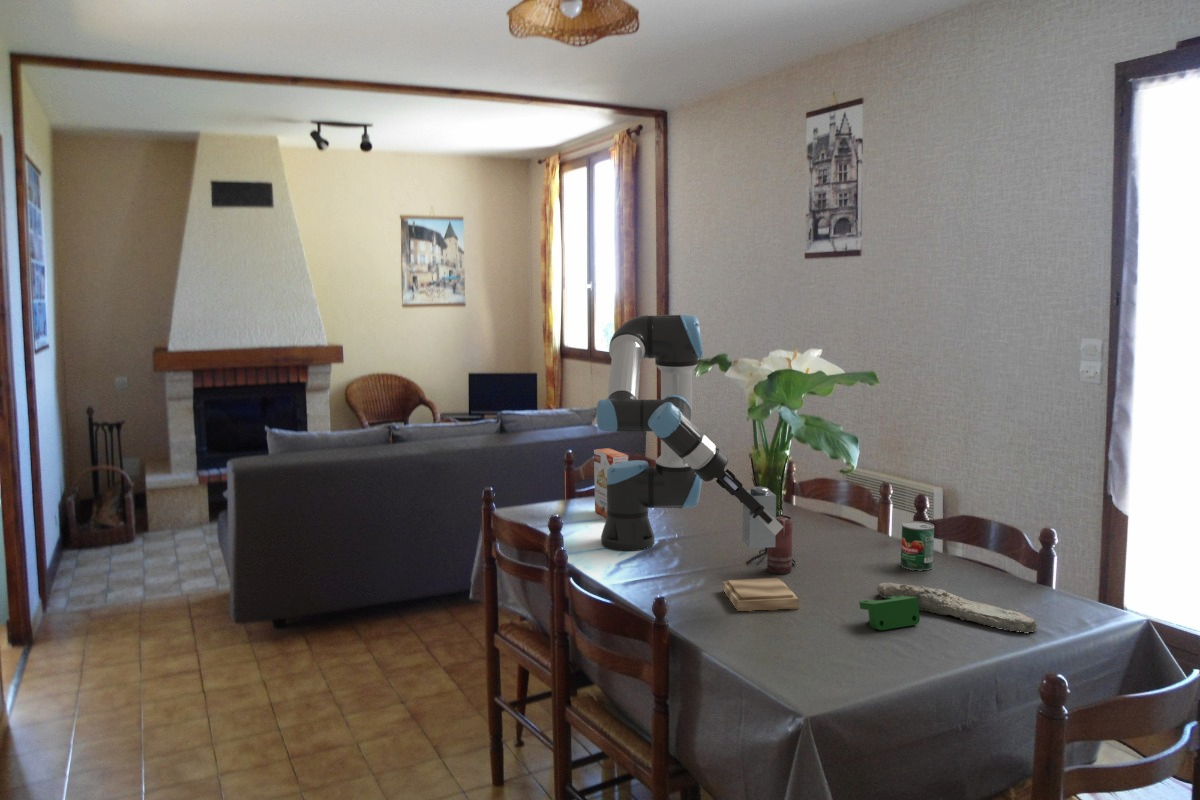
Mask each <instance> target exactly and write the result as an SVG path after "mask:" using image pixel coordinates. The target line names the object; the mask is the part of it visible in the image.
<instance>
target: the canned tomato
mask: <svg viewBox="0 0 1200 800" xmlns="http://www.w3.org/2000/svg"><path fill="white" fill-rule="evenodd" d="M934 537H935V525H934V524H933V523H931V522H928V521H927V522H926V521H919V520H908V521H903V522H902V523H901V538H900V541H901V543H900V545H901V546H900V567H901V566H902V567H901V568H903V567H904V568H903V569H905V568H906V570H908V569H909V570H910V571H914V570H918V571H917V572H923V571H922V570H927V571H931V570H932V569H933V568H934V567H933V566H934V565H933V562H934V540H935V539H934ZM930 569H931V570H930Z"/></svg>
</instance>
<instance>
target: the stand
mask: <svg viewBox="0 0 1200 800" xmlns="http://www.w3.org/2000/svg"><path fill="white" fill-rule="evenodd" d="M723 590H724V592H725V593H726V595H727V596H728V598H729V599H730V600H731V602H732V603H733V605H734V606H735V607H734V606H733V605H732V606H733V607H734V609H735V608H736V609H737V610H736V609H735V610H736V612H737V611H749V612H755V611H754V610H769V611H779V610H778V609H790V610H799V609H800V608H799V607H800V598H799V597H798V596H797V595H796V594H795V593H794V592H793V591H792V589H790V587H788V585H786V583H785V582H784V581H783V580H782V579H780V578H778V577H769V578H768V577H767V578H746V579H745V578H744V579H728V580H725V581H722V591H723ZM724 592H723V593H724ZM726 595H725V596H726ZM727 596H726V597H727ZM728 598H727V599H728ZM729 599H728V600H729ZM730 600H729V601H730ZM731 602H730V603H731ZM732 603H731V604H732ZM752 610H753V611H752Z"/></svg>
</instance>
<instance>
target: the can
mask: <svg viewBox="0 0 1200 800" xmlns="http://www.w3.org/2000/svg"><path fill="white" fill-rule="evenodd" d="M776 520H777V521H778V522H779V523H780V524H781V525H782V526H783V528H782V529H781V530H780V531H779V532H778V533H777V534H776V538H775V547H768V548H767V550H766V551H767V554H766V555H767V559H766V560H767V563H766V567H767V568H766V569H767V570H768V572H769V571H770V572H769V573H771V572H772V573H771V574H774V573H777V574H776V575H788V574H790V573H791V572H792V570H793V569H792V567H793V564H792V563H793V520H792V517H790V516H787V515H782V514H781V515H780V514H776ZM789 572H790V573H789ZM787 573H788V574H787Z"/></svg>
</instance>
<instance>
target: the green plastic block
mask: <svg viewBox="0 0 1200 800" xmlns="http://www.w3.org/2000/svg"><path fill="white" fill-rule="evenodd" d="M858 603H859V609H860V610H867V611H868V618H869V625H870V627H871V629H873V628H874V630H878V631H885V630H891V629H897V628H904V627H910V626H915V625H918V624H919V622H920V618H921V617H920V616H921V615H920V610H919V608H918V600H917V597H909V596H892V597H887V599H881V600H879V599H877V600H876V599H875V600H874V599H867V600H860V601H858Z"/></svg>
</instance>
